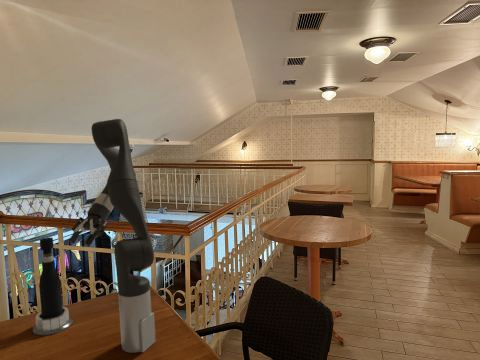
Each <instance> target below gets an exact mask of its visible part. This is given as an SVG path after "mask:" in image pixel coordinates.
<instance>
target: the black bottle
mask: <svg viewBox="0 0 480 360" xmlns="http://www.w3.org/2000/svg"><path fill="white" fill-rule="evenodd" d="M39 244H40V245H39V248H40V250H41V251H42V255H43V256H42V258H41V259H42V262H41V269H42V270H41V272H40V273H41V274H40V277H39V284H38V286H39V289H38V290H39V300H40V312H41V313H42V319H50V318H54V317H57V316H59V315H61V314H63V307H64V305H63V295H62V294H63V293H62V284H61V283H62V282H61V279H60V276H59V273H58V271H57V269H56V263H55V259H54V255H53V251H52V249H54V238H53V237H45V238H44V237H43V238H41V239H40V238H39Z"/></svg>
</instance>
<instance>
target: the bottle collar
mask: <svg viewBox="0 0 480 360" xmlns="http://www.w3.org/2000/svg"><path fill="white" fill-rule="evenodd" d="M73 322H74V320H73V318H72V316H70V312H69V309H68V306H67V307H66V306H63V314H61V315H59V316H57V317H54V318H50V319H42V313H41V311H40V312H39V311H38V313H37V314H36V315H35V325H34V326H33V327H32V333H33V334H34V335H35V336H40V337H43V336H45V337H46V336H51V335H54V334H55V335H56V334H58V333H61V332H63V331H65V330H67V329H68V328H70V327H71V326H72V324H73Z"/></svg>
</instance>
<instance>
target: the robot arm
mask: <svg viewBox="0 0 480 360" xmlns="http://www.w3.org/2000/svg"><path fill="white" fill-rule="evenodd" d="M91 135H92V139H93V142H94V144H95V146H96V148H97V149H98V150H99V152H100V153H101V155H102V156H103V158H105V160H106V161H107V163H108V166H109V169H110V171H109V173H108V174H109V175H108V177H107V181H106V184H105V187H103V189H102V191H101V192H100V193H99V195H98V196H97V197H96V198H95V200H94V201H93V203H92V204H91V206H90V208H89V209H88V210H87V212H86V213H87V214H86V215H87V216H86V217H85V218H83V217H82V216H80V217H79V218H78V219H77V221H76V222H75V224H74V225H72V228H71V231H72V232H73V233H72V234H71V236H70V238H69V240H68V241H69V242H70V243H71V244H75V243H76V241H77V240H78V238H79V237H80V235H81V234H82V233H86V232H89V231H90V233H89V235H88V236H87V238H86V239H85V241H84V244H85V245H86V246H87V247H89V246H91V245H92V244H93V242H94V240H95V239H96V238H97V237H102V236H103V233H104V232H105V230H106V228H107V227H108V225H109V222H108V221H107V219H108V217H109V216H110V215H111V213H112V211H113V210H114V208H115V210H116V211H117V212H118V213H119V214H120V215H121V216H123V218H124V219H125V220H126V221H127V222H128V223H129V225H130V226H131V228H132V229H133V232H134V233H135V236H136V237H131V238H126V239H120V240H118V241H116V243H115V244H114V247H113V248H114V251H113V253H114V261H115V269H116V270H115V271H116V282H117V293H118V310H119V311H118V312H119V328H120V329H119V330H120V338H121V339H120V340H121V341H120V342H121V350H122V351H124V352H126V353H130V354H134V353H135V354H136V353H145V352H146V351H147V350H148V349H149V348H150V347H151V346H152V345H154V344H155V343H156V326H155V325H156V323H155V313H154V312H153V311H152V301H151V283H150V280H149V278H148V277H145V276H142V275H138V274H137V275H135V274H131V271H132V270H138V269H142V268H146V267H150V266H152V265H153V264H154V260H155V251H154V247H153V243H152V239H151V236H150V232H149V229H148V226H147V222H146V219H145V215H144V210H143V204H142V200H141V194H140V190H139V185H138V180H137V175H136V171H135V169H134V164H133V159H132V155H131V154H132V153H131V147H130V141H129V135H128V130H127V126H126V124H125V121H124V120H122V119H121V118H114V119H113V118H112V119H109V120H108V119H107V120H103V121H102V120H100V121H97V122H93V123H92V125H91ZM116 147H119V148H116Z"/></svg>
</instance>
